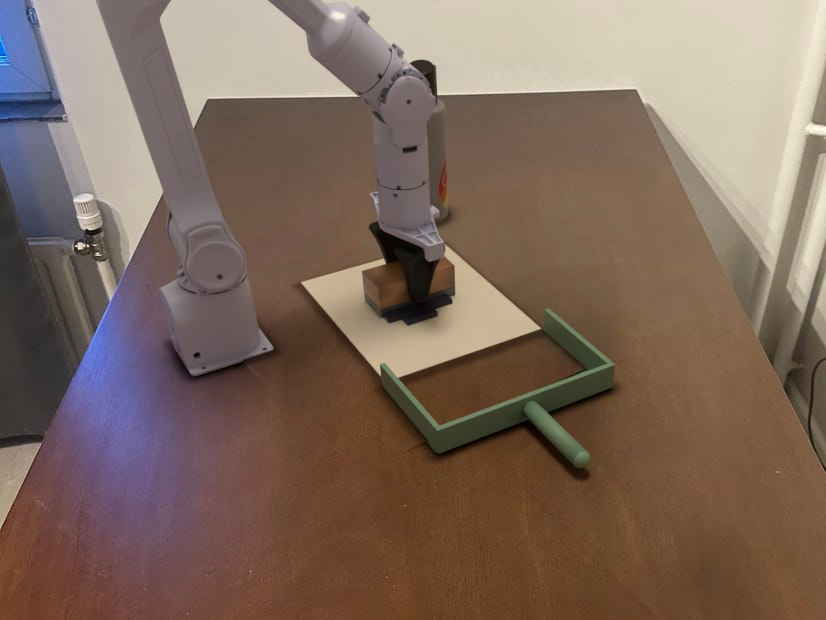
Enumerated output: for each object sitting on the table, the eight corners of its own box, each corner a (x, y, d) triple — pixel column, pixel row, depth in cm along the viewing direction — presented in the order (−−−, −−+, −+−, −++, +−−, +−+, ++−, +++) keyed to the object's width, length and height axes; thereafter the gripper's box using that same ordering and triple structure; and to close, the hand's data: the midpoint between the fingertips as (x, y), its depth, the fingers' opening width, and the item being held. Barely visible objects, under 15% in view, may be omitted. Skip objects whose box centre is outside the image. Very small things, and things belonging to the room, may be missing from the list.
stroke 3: (423, 313, 105) (422, 308, 104) (417, 307, 106) (416, 302, 105) (452, 303, 106) (452, 299, 106) (446, 297, 107) (446, 293, 107)
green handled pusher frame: (382, 388, 95) (379, 364, 93) (547, 331, 103) (548, 307, 101) (490, 517, 81) (490, 492, 79) (671, 440, 89) (676, 415, 87)
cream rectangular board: (385, 385, 96) (385, 381, 95) (301, 285, 110) (300, 282, 110) (541, 332, 103) (541, 328, 102) (442, 245, 117) (442, 241, 117)
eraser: (381, 318, 104) (378, 288, 101) (364, 300, 107) (361, 270, 104) (455, 295, 108) (454, 265, 105) (437, 278, 110) (436, 248, 108)
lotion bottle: (450, 208, 125) (446, 56, 111) (445, 227, 121) (440, 72, 107) (410, 206, 125) (401, 55, 111) (403, 225, 121) (393, 71, 107)
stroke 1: (389, 323, 103) (388, 319, 103) (383, 317, 104) (383, 313, 104) (419, 314, 105) (419, 309, 104) (413, 308, 106) (413, 303, 105)
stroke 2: (407, 326, 103) (407, 321, 102) (401, 319, 104) (401, 315, 103) (438, 316, 104) (437, 311, 104) (431, 310, 105) (431, 305, 105)
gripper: (468, 195, 94) (469, 307, 103) (405, 146, 103) (411, 253, 112) (408, 211, 91) (415, 325, 101) (349, 160, 100) (360, 268, 110)
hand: (409, 288), depth 106 cm, fingers closed on eraser, 4 cm apart
